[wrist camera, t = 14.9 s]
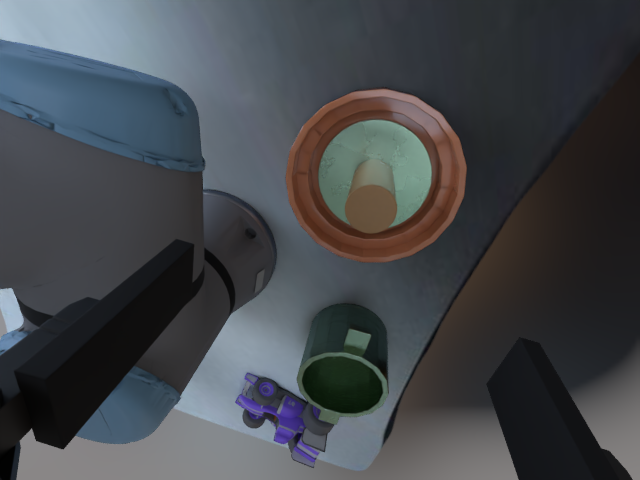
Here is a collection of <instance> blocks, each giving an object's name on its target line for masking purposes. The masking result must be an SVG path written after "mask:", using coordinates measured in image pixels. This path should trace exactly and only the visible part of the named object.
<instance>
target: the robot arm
mask: <svg viewBox="0 0 640 480" xmlns="http://www.w3.org/2000/svg"><path fill="white" fill-rule="evenodd" d="M204 168H205V160H204V158H203V157H202V153H201V141H200V127H199V116H198V112H197V109H196V106H195V104H194V102H193V101H192V99H191V98H190V97H189V96H188V94H187V93H185V92H184V91H183V90H182V89H181V88H179V87H178V86H176V85H174V84H172V83H170V82H168V81H165V80H163V79H160V78H157V77H154V76H151V75H148V74H144V73H141V72H138V71H134V70H131V69H127V68H124V67H120V66H116V65H112V64H109V63H105V62H101V61H97V60H93V59H89V58H85V57H81V56H77V55H73V54H68V53H64V52H60V51H55V50H51V49H46V48H42V47H37V46H33V45H27V44H22V43H17V42H10V41H5V40H0V289H5V288H12V289H13V291H14V293H15V296H16V298H17V301H18V304H19V307H20V310H21V313H22V316H23V318H24V322H23V324H22V326H21V327H20V328H18V329H16V330H14V331H11V332H9V333H7V334H5V335H3V336H2V337H1V340H0V480H16V477H17V470H18V463H19V456H20V449H21V447H20V440H21V439H22V438H23V437H24V435H26V433H28V432H29V431H30V429H31V428H32V430H33V432H34V436H35V439H36V441H38V442H41V443H44V444H48V445H51V446H54V447H57V448H60V449H64V448H65V447H66V446H67V445H68V443H69V442H70V441H71V440H72V439H73V438H74V436H78V437H81V438H84V439H88V440H92V441H97V442H101V443H109V444H126V443H130V442H135V441H138V440H141V439H143V438H145V437H147V436H149V435H150V434H152V433H153V432H154V431H155V430H156V429H157V428H158V426H159V425H160V424H161V422H162V421H163V420H164V418H165V417H166V416H167V414H168V413H169V412H170V410H171V409H172V408H173V407H174V405H176V404H177V403H178V402H179V400H180V399H181V398H180V396H181V394H182V392H183V391H184V389H185V387H186V386H187V384H188V383H189V381H190V379H191V378H192V376H193V374H194V373H195V371H196V370H197V368H198V366H199V365H200V363H201V362H202V360H203V358H204V357H205V355H206V353H207V352H208V350H209V349H210V347H211V345H212V344H213V342H214V340H215V339H216V337H217V336H218V334H219V332H220V331H221V329H222V327H223V326H224V324H225V323H226V321H227V319H228V318H229V316H230V315H231V313H233V312H234V311H236V310H237V309H239V308H240V307H242V306H243V305H244V304H246V303H247V302H249V301H250V300H252V299H253V298H255V297H256V296H257V295H258V294H259V293H260V292H261V291H262V290H263V289H264V288H265V287H266V285H267V284H268V282H269V280H270V278H271V276H272V274H273V272H274V269H275V265H276V246H275V242H274V239H273V236H272V234H271V231H270V230H269V228H268V226H267V224H266V223H265V221H264V220H263V219H262V218H261V216H260V215H259V214H258V213H257V212H256V211H255V210H254V209H253V208H252V207H250V206H249V205H248V204H247V203H245V202H244V201H242V200H240V199H239V198H237V197H235V196H232V195H230V194H228V193H224V192H221V191H216V190H203V177H202V171H203V170H204ZM487 387H488V390H489V393H490V396H491V399H492V402H493V405H494V408H495V411H496V414H497V417H498V419H499V423H500V426H501V428H502V431H503V434H504V437H505V440H506V443H507V446H508V449H509V452H510V455H511V458H512V461H513V464H514V467H515V470H516V472H517V476H518V479H519V480H632V478H631V477H630V475H629V473H628V472H627V470H626V469H625V468H624V467H623V466H622V465H621V464H620V462H619V461H618V460H617V459H616V458H615V457H614V456H613V455H612V454H611V452H610V451H607V450H605V449H601V448H600V446H599V444H598V442H597V441H596V439H595V437H594V436H593V434H592V432H591V430H590V429H589V427H588V425H587V424H586V422H585V420H584V419H583V417H582V415H581V413H580V411H579V410H578V408H577V406H576V405H575V403H574V401H573V400H572V398H571V396H570V395H569V393H568V391H567V390H566V388H565V386H564V384H563V383H562V381H561V379H560V377H559V376H558V374H557V372H556V371H555V369H554V367H553V366H552V364H551V362H550V360H549V359H548V357H547V355H546V354H545V352H544V350H543V349H542V347H541V345H540V343H538V342H534V341H531V340H527V339H524V338H520V337H519V339H518V340H517V341H516V343H515V344H514V346H513V347H512V349H511V350H510V351H509V353H508V354H507V356H506V357H505V359H504V360H503V362H502V363H501V364H500V366H499V367H498V368H497V370H496V371H495V373H494V374H493V376H492V377H491V378H490V380H489V381H488V383H487Z"/></svg>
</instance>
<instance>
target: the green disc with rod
mask: <svg viewBox="0 0 640 480" xmlns="http://www.w3.org/2000/svg"><path fill="white" fill-rule="evenodd" d="M431 182H432V165H431V160H430V157H429V154H428V152H427V149H426V148H425V146H424V144H423V143H422V141H421V140H420V139H419V138H418V136H417V135H415V134H414V133H413V132H412V131H411V130H410V129H408V128H407V127H405V126H403V125H401V124H399V123H396V122H393V121H390V120H385V119H369V120H364V121H360V122H357V123H354V124H352V125H350V126H348V127H346V128H345V129H343V130H342V131H340V132H339V133H338V134H337V135H336V136H335V137H334V138H333V139H332V140H331V141H330V143H329V144H328V146H327V147H326V149H325V150H324V153H323V155H322V157H321V160H320V164H319V169H318V183H319V188H320V192H321V195H322V198H323V200H324V202H325V203H326V205H327V206H328V208H329V209H330V210H331V211H332V213H333V214H334V215H335V216H337V217H338V218H339V219H340V220H342V221H343V222H345V223H347V224H349V225H351V226H353V227H354V228H355V229H357V230H359V231H361V232H364V233H378V232H381V231H383V230H385V229H387V228H391V227H394V226H396V225H399V224H401V223H403V222H404V221H406V220H407V219H409V218H410V217H411V216H413V215H414V214H415V213H416V212H417V211H418V210H419V208H420V207H421V206H422V204H423V203H424V201H425V199H426V197H427V195H428V193H429V190H430V187H431Z"/></svg>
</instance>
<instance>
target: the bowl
mask: <svg viewBox="0 0 640 480" xmlns="http://www.w3.org/2000/svg"><path fill="white" fill-rule="evenodd" d="M369 119H385V120H390V121H393V122H396V123H399V124H401V125H403V126H405V127H407V128H408V129H410V130H411V131H412V132H413V133H414V134H415V135H417V136H418V138H419V139H420V140H421V141H422V143H423V144H424V146H425V148H426V149H427V152H428V154H429V157H430V160H431V165H432V182H431V187H430V190H429V193H428V195H427V197H426V199H425V201H424V203H423V204H422V206H421V207H420V208H419V210H418V211H417V212H416V213H415V214H414V215H413V216H411V217H410V218H409V219H407V220H406V221H404V222H403V223H401V224H399V225H396V226H394V227H391V228H387V229H385V230H383V231H381V232H378V233H364V232H361V231H359V230H357V229H355V228H354V227H353V226H351V225H349V224H347V223H345V222H343V221H342V220H340V219H339V218H338V217H337V216H335V215H334V214H333V213H332V211H331V210H330V209H329V208H328V206H327V205H326V203H325V202H324V200H323V198H322V195H321V192H320V188H319V183H318V169H319V164H320V160H321V157H322V155H323V153H324V150H325V149H326V147H327V146H328V144H329V143H330V141H331V140H332V139H333V138H334V137H335V136H336V135H337V134H338V133H339V132H340V131H342V130H343V129H345V128H346V127H348V126H350V125H352V124H354V123H357V122H360V121H364V120H369ZM466 171H467V166H466V162H465V158H464V154H463V151H462V147H461V143H460V139H459V137H458V136H457V135H456V133H455V132H454V130H453V129H452V128H451V126H450V125H449V123H448V122H447V120H446V119H445V118H444V116H443V115H442V114H441V113H440V112H438V111H437V110H436V109H434V108H433V107H431V106H430V105H428V104H427V103H425V102H424V101H422V100H421V99H419V98H418V97H416V96H415V95H413V94H411V93H407V92H403V91H399V90H395V89H391V88H387V87H385V88H384V87H379V88H369V89H360V90H355V91H353V92H351V93H348V94H346V95H344V96H342V97H340V98H338V99H335V100H333V101H331V102H329V103H328V104H326V105H324V106H323V107H322V108H321V109H320V110H319V111H318V112H317V113H316V114H315V115H314V116H313V117H312V118H311V119H310V120H309V121H307V122H306V123H305V124H304V125H303V127H302V129H301V131H300V133H299V135H298V136H297V138H296V140H295V142H294V144H293V146H292V148H291V150H290V154H289V160H288V166H287V172H286V184H287V190H288V197H289V202H290V205H291V207H292V209H293V211H294V213H295V215H296V217H297V219H298V221H299V224H300V225H301V227H302V228H303V229H304V230H305V231H306V232H307V233H308V234H309V235H310V236H311V237H312V238H313V239H314V241H315V242H316V243H318V244H319V245H321V246H323V247H324V248H326V249H328V250H329V251H331V252H333V253H334V254H336V255H338V256H341V257H344V258H348V259H352V260H355V261H359V262H390V261H393V260H397V259H400V258H404V257H407V256H411V255H413V254H415V253H416V252H418V251H420V250H421V249H423V248H425V247H426V246H428V245H430V244H431V243H433V242H434V241H435V240H436V239H437V238H438V237H439V236H440V235H441V234H442V232H443V231H444V230H445V229H446V228H447V227H448V226H449V225H450V224H451V222H452V221H453V220H454V217H455V215H456V213H457V211H458V208H459V206H460V204H461V202H462V199H463V197H464V192H465V182H466Z"/></svg>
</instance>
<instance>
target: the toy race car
mask: <svg viewBox="0 0 640 480" xmlns="http://www.w3.org/2000/svg"><path fill="white" fill-rule="evenodd" d="M245 379H246V380H247V382H246V384H245V387H244V389H243V392H242V394H240V395H239V397H238V398H237V399H236V402H235V403H237V404H238V405H240V406H241V407H242V408H245V410H244V412H243V421H244V423H245V424H246V425H247V426H248V427H250V428H258V427H260V426H261V425H262V424H263V423H264V421H265V419H268V420H269V421H271V424H272V425H274V426H275V427H276V432H275V436H274V441H276V442H278V443H281V444H286V443H287V442H288V445H289V449H290V451H291V453H292V454H291V456H292V459H293V460H294V461H297V462H299V463H302V464H304V465H307V466H310V467H312V468H314V464H315V460H316V457H317V455H318V454H319V452H320V451H322V452H325V447H326V440H327V434H328V433H329V432H330V430H331V429H332V428H333V426H334V425H335V424H332V423H329V422H325V421H322V420H319V419H318V418H319V412H320V409H318V408H317V407H315V406H313V405H312V404H310V403H309V402H308V404H307V403H305V402H304V401H302V400H301V399H299V398H297V397H296V396H294V395H293V394H291V393H289V392H287V391H285V390H282V389H280V388H278V387H277V385H276V383H275V382H274V381H272V380H271V379H267V378H263V379H260V380H258V379H259V378H258V377H256V376H254V375H251V374H249V373H247V374H246V376H245ZM255 383H256V384H255ZM251 384H253V385H255V386H254V388H253V391H252V396H253V398H250V397H247V396H246V395H247V392H248V390H249V387H250V385H251Z"/></svg>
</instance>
